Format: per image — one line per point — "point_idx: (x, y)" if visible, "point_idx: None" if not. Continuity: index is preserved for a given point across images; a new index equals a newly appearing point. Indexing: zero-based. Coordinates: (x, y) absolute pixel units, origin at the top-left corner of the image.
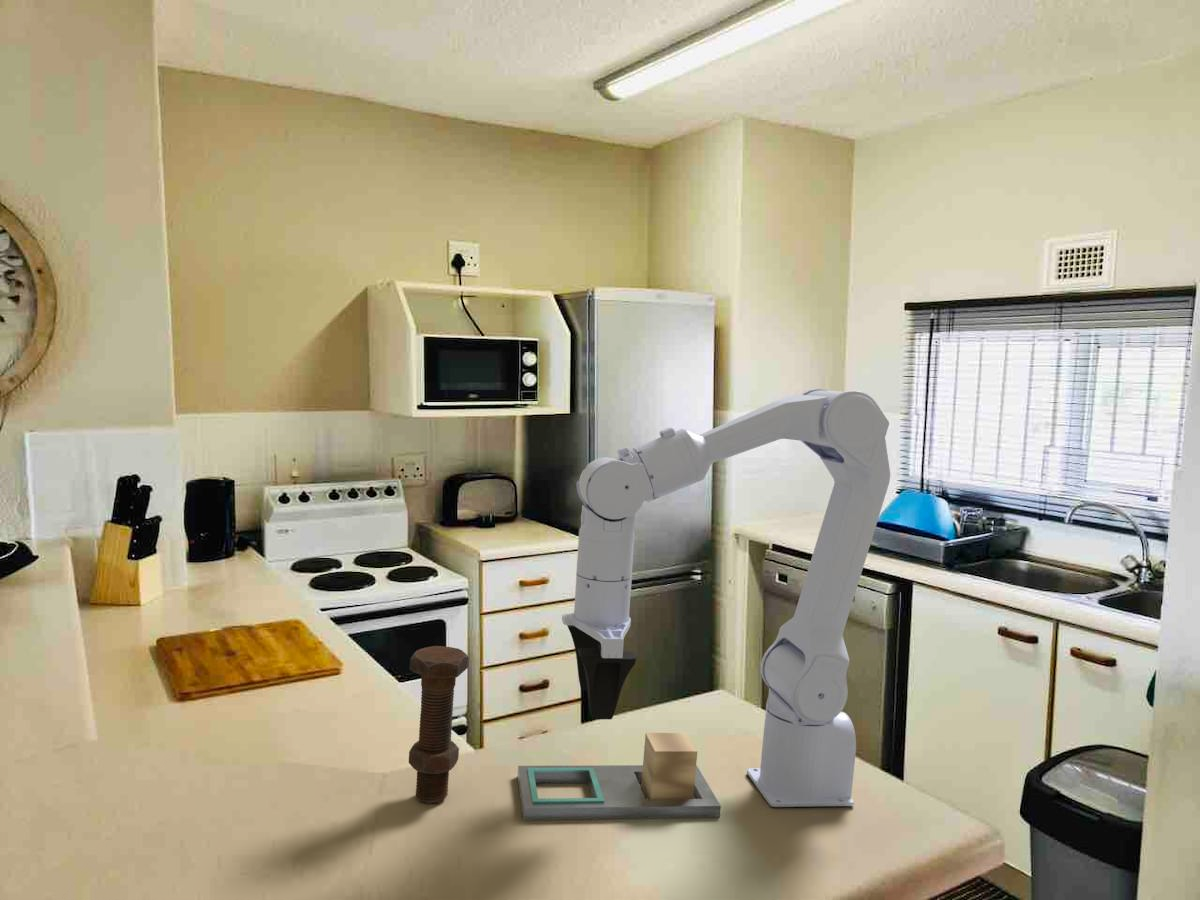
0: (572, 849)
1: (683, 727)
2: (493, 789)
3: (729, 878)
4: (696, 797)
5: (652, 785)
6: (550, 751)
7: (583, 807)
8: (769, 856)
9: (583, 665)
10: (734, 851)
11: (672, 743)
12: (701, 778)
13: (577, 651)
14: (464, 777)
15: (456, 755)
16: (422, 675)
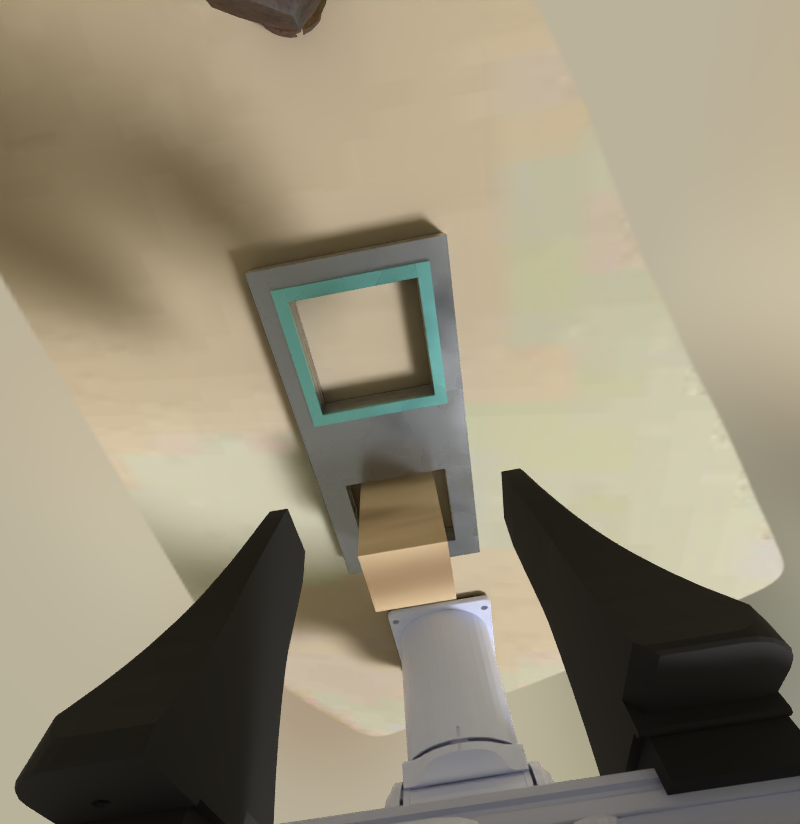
0: (183, 370)
1: (656, 527)
2: (371, 177)
3: (196, 561)
4: None
5: (360, 506)
6: (571, 299)
7: (287, 391)
8: None
9: (202, 656)
10: None
11: (402, 580)
12: None
13: (564, 563)
14: (423, 76)
15: (273, 17)
16: None
